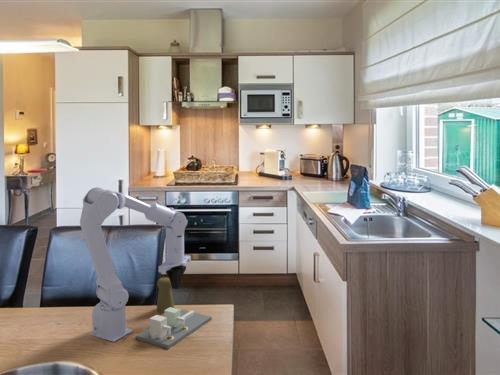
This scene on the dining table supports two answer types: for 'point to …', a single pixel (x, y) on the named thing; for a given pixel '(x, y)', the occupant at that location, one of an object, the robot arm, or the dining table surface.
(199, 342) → the dining table surface
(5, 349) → the dining table surface
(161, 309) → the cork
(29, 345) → the dining table surface
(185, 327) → the plate
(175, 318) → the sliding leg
